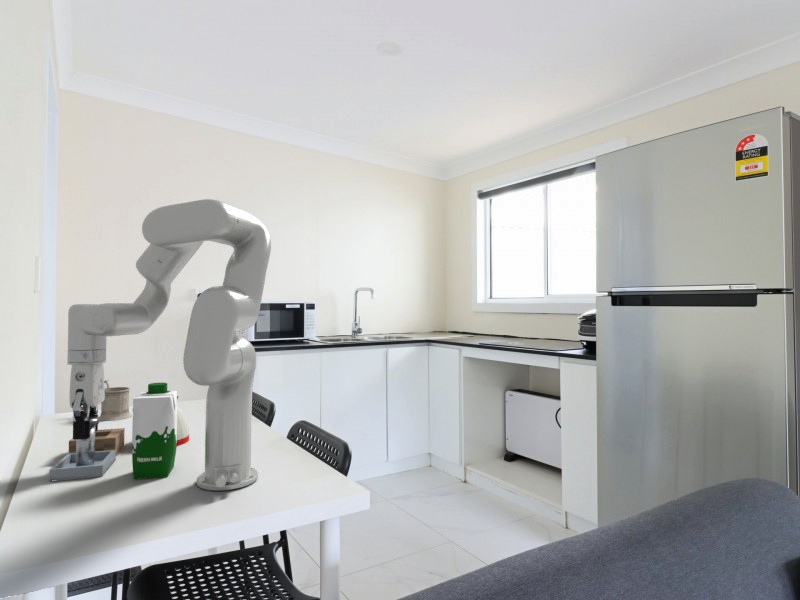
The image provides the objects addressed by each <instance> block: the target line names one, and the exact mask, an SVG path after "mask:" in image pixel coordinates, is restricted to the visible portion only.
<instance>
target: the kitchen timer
mask: <svg viewBox="0 0 800 600" xmlns="http://www.w3.org/2000/svg"><path fill="white" fill-rule="evenodd" d="M178 399H179V395H177V400H178ZM189 441H190V429H189V426H188V422H187V419H186V416H185V414H184V413H183V411H182V409H181V408H180V407H179V406H178V405H177V447H179V446H182V445H184V444H186V443H188V442H189Z"/></svg>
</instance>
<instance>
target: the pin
mask: <svg viewBox="0 0 800 600" xmlns="http://www.w3.org/2000/svg"><path fill="white" fill-rule="evenodd" d="M99 417H100V416H98V417H93V416H92V417H89V420H90V437H89V438H88V439H76V466H88V465H94V457H95V426H96V425H97V424H98V425H99V424H100V420H99Z"/></svg>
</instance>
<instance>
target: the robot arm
mask: <svg viewBox="0 0 800 600" xmlns="http://www.w3.org/2000/svg"><path fill="white" fill-rule="evenodd" d="M141 230H142V231H141V232H142V233H141V234H142V236H143V238H144V240H145V241H147V243H148V244H149V245H148V246H147V248H146V249H145V250H144V252H143V253H142V254H141V255H140V257H138V259H137V260H136V262H135V268H136V270H137V272H138V273H139V274H140V275H141V277H143V278H144V279H145V281H146V282H145V286H144V288H143V290H142V291H141V293H140V294H139V295H138V296H137V298H136V299H135V300H134V301H133V302H131V303H130V302H125V303H124V302H120V303H119V302H116V303H115V302H114V303H113V302H112V303H110V302H106V303H105V302H104V303H96V304H95V303H76V304H72V305H71V306H70V307H69V308H68V313H67V314H68V315H67V316H68V317H67V319H68V320H67V322H68V323H67V356H66V357H67V360H66V361H67V362H66V363H67V364H66V365H69V366H71V369H70V381H69V407H70V408H71V409H72V414H73V416H72V438H73V439H74V440H76V439H88V438H89V437H90V420H89V417H92V416H93V417H99V405H101V402H103V401H104V399H105V389H106V388H105V383H104V381H105V370H104V369H105V368H104V364H106V363H107V337H120V336H128V335H129V336H130V335H133V336H134V335H138V334H142V333H144V332H146V331H147V330H149V329H150V328H151V327H152V326H153V325H154V324H155V322H157V320H158V319H159V318H160V316H161V315H162V314H163V313H164V311H165V310H166V308H167V306H168V305H169V302H170V301H169V300H170V296H171V291H172V287H171V286H172V285H171V284H172V283H173V282H174V281H175V279H176V278H177V277H178V275H180V273H181V272H182V270H183V269H184V268H185V266H186V265H187V264H188V263H189V262H190V260H191V259H192V258H193V257H194V255H195V254H196V253H197V251H199V249H200V248H201V246H202V245H203V244H204V243H205V241H206V242H214V243H216V244H222V245H226V246H230V247H231V248H233V252H232V253H231V255H230V257H229V259H228V262H226V266H225V271H224V277H223V281H222V285H217V286H211V287H209V288H206V289H204V290H203V291H202V292H201V293H200V295H198V297H197V298H196V300H195V302H194V303H193V306H192V309H191V313H190V319H189V325H188V329H187V335H186V340H185V344H184V349H183V357H182V359H183V361H182V362H183V363H182V364H183V369H184V372H185V375H186V376H187V378H188V379H189V380H190V381H191V382H192V383H193V384H196V385H198V386H203V387H204V386H205V387H207V386H208V389H207V392H206V401H205V428H204V429H205V430H204V431H205V433H204V434H205V435H204V436H205V437H204V439H205V440H204V447H205V448H204V472H202V473H200V474H199V475H198V476H197V477H196V485H197V487H199V488H200V489H203V490H207V491H217V492H218V491H232V490H237V489H239V488H240V489H241V488H244V487H247V486H250V485H251V484H254V482H256V481H257V480H258V478H259V471H258V470H257V469H255V468H254V467H252V421H253V419H252V418H253V417H252V414H253V412H252V411H253V409H252V408H253V406H252V405H253V389H254V388H253V386H254V378H255V375H256V374H255V373H256V368H257V353H256V349H255V348H254V346H253V344H252V343H251V341H249V340H247V339H246V338H245V337H242V336H238V335H234V334H235V332H239V331H246V330H248V329H251V328H252V327H253V326H254V325H255V324H256V323H257V321H258V319H259V316H260V311H261V305H262V298H263V295H264V294H263V293H264V288H265V283H266V277H267V275H266V274H267V270H268V266H269V262H270V257H271V251H272V239H271V236H270V233H269V231H268V229H267V227H266V226H265V225H264V223H263V222H262V221H260V220H259V219H258V218H257V217H256V216H254V215H252V214H251V213H249V212H247V211H246V210H243V209H241V208H238V207H236V206H233V205H230V204H229V203H226V202H223V201H222V200H221V201H220V200H218V199H210V198H208V199H207V198H206V199H198V200H193V201H188V202H181V203H174V204H169V205H164V206H161V207H157V208H155V209H153V210H151V211H150V212H149V213H148V214H147V215H146V216H145V217H144V220H143V222H142V225H141ZM98 428H99V424H97V425H96V426H95V432H96V431H97V430H99V429H98Z"/></svg>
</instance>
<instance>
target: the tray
mask: <svg viewBox="0 0 800 600" xmlns="http://www.w3.org/2000/svg"><path fill="white" fill-rule="evenodd" d="M116 457H117V456H116V450H108V451H95V457H94V465H88V466H76V453H70V454H69V453H67V454H66V455H65V456H64V457H62V458H61V459H60V460H59V461H58V462H56V464H55V465H53V466H52V467H51V468H50V469H49V470H48V471H49V473H48V474H49V476H48V477H49V478H48V482H53V481H52V480H60V481H69V480H79V479H80V480H81V479H89V478H90V479H91V478H101V477H102V478H103V477H104V475H106V474H107V472H108V470H109V469H110V468H111V467H112V465H113V464H114V463H115V461H116V459H117V458H116Z"/></svg>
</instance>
